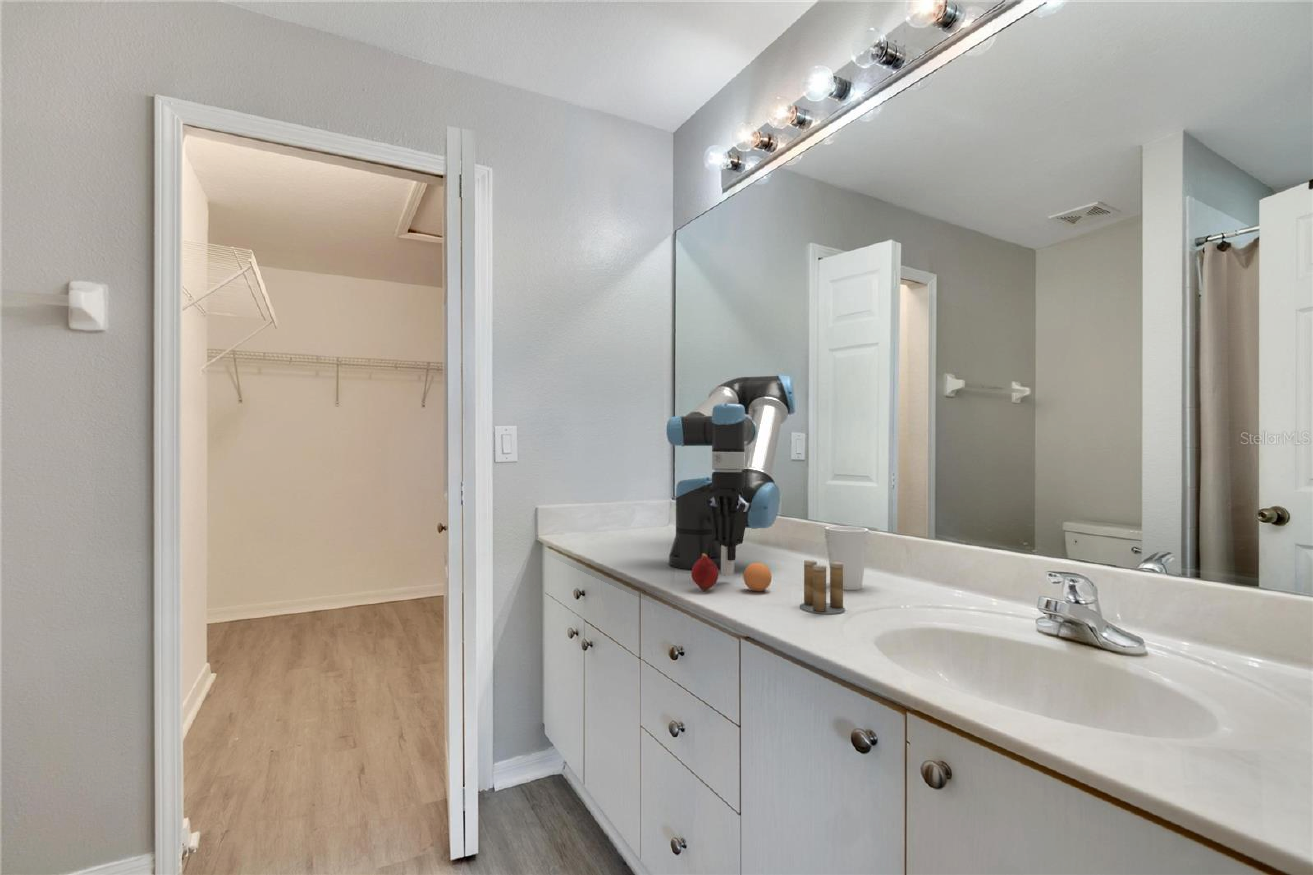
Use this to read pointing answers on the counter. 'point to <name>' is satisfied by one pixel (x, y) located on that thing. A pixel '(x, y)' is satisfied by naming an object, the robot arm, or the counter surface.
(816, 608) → the pin
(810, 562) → the pin front
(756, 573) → the ball
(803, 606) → the pin spot
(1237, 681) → the counter surface
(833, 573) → the pin
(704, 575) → the onion
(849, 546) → the foam cup
